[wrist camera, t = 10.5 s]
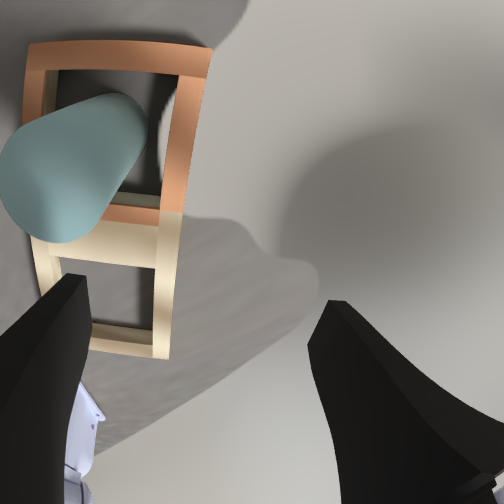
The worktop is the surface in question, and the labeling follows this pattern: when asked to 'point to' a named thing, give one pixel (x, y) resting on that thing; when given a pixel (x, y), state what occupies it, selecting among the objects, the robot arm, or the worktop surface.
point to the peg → (71, 165)
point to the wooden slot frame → (123, 203)
